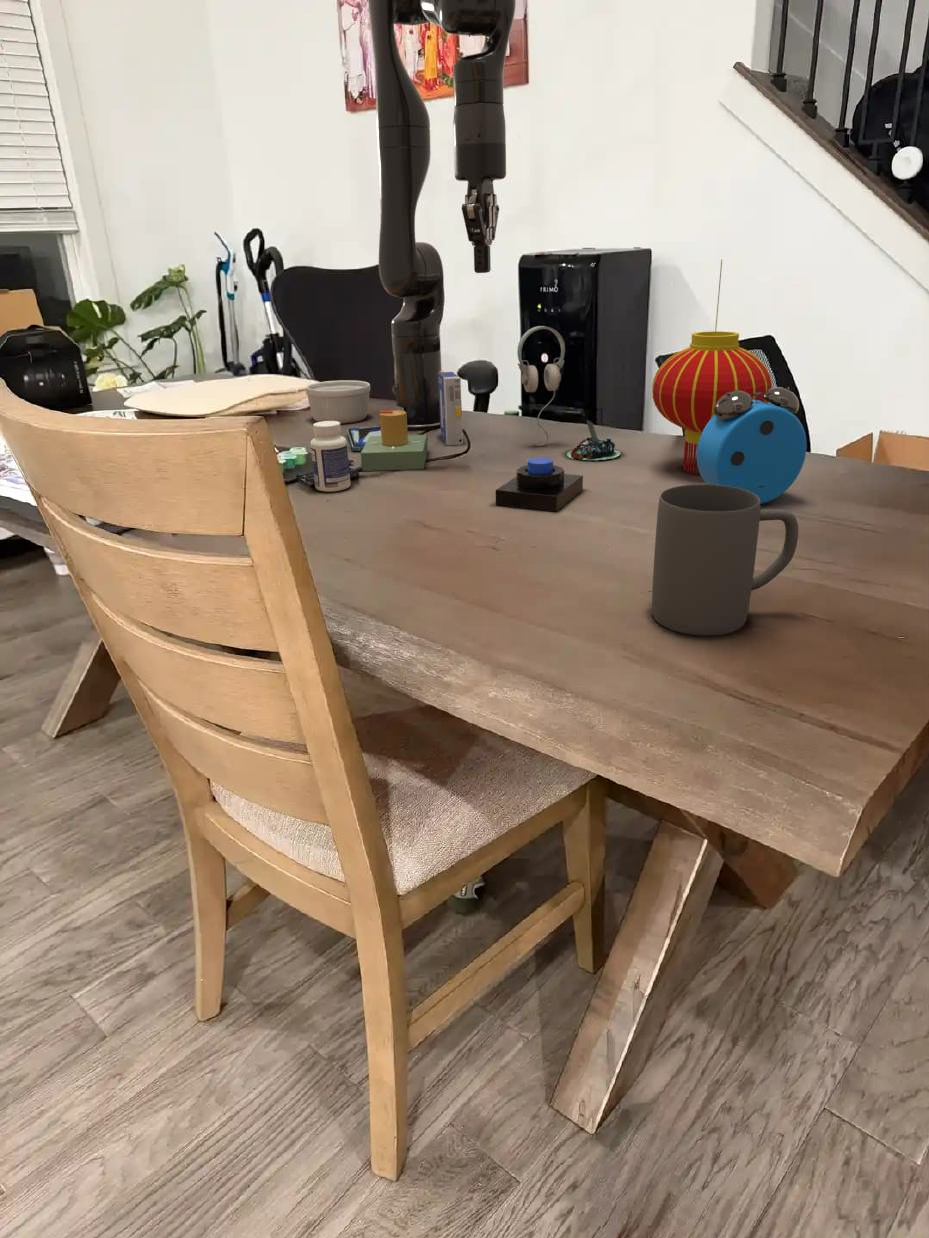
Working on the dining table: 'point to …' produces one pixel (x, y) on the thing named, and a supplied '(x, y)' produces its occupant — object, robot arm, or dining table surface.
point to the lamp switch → (539, 490)
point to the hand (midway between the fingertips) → (482, 272)
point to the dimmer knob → (393, 428)
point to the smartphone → (362, 436)
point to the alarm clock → (753, 443)
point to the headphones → (550, 372)
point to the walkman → (450, 408)
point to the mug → (711, 557)
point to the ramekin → (339, 400)
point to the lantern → (705, 382)
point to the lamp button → (540, 466)
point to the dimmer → (394, 454)
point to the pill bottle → (330, 457)
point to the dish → (594, 448)
